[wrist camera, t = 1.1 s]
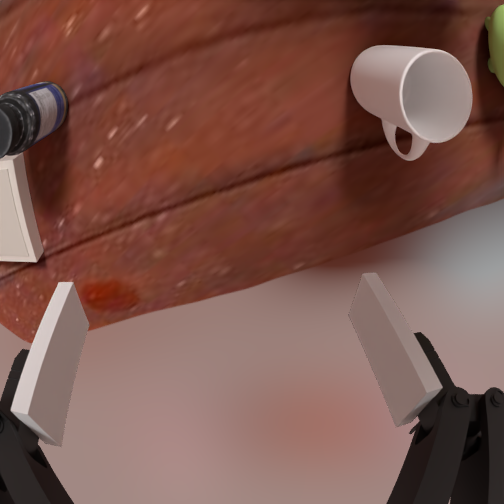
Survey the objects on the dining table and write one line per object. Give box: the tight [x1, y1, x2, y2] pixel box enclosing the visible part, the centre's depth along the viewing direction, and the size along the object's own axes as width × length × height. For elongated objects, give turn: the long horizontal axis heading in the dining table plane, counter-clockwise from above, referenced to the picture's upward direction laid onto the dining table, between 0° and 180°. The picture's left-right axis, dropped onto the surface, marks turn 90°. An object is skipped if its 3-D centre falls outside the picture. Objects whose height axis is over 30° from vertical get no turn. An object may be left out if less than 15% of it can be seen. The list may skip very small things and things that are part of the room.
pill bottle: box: [0, 81, 68, 159], centre depth 22 cm, size 6×6×11 cm
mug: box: [350, 45, 472, 161], centre depth 26 cm, size 9×12×11 cm
